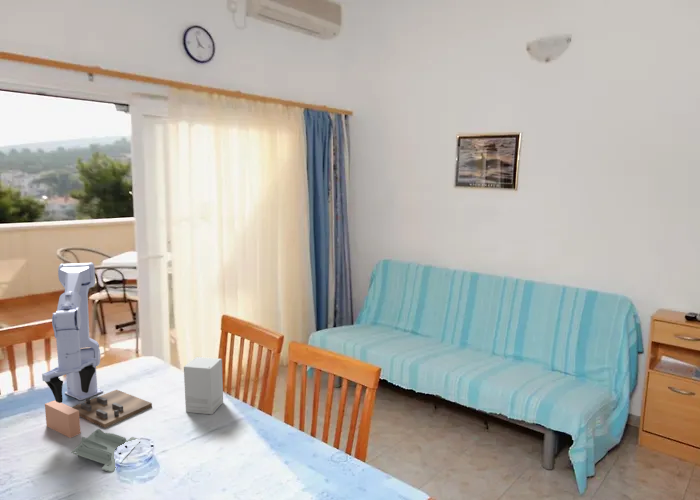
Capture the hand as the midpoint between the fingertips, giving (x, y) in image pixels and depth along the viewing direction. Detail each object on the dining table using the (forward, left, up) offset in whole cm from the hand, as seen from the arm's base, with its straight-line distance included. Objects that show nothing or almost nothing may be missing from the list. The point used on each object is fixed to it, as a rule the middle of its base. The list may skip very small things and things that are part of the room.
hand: (72, 396), depth 146 cm
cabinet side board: (-2, +13, -10) cm, 16 cm away
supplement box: (+21, +30, -10) cm, 38 cm away
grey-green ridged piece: (+20, -3, -10) cm, 23 cm away
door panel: (-2, -2, -10) cm, 10 cm away
